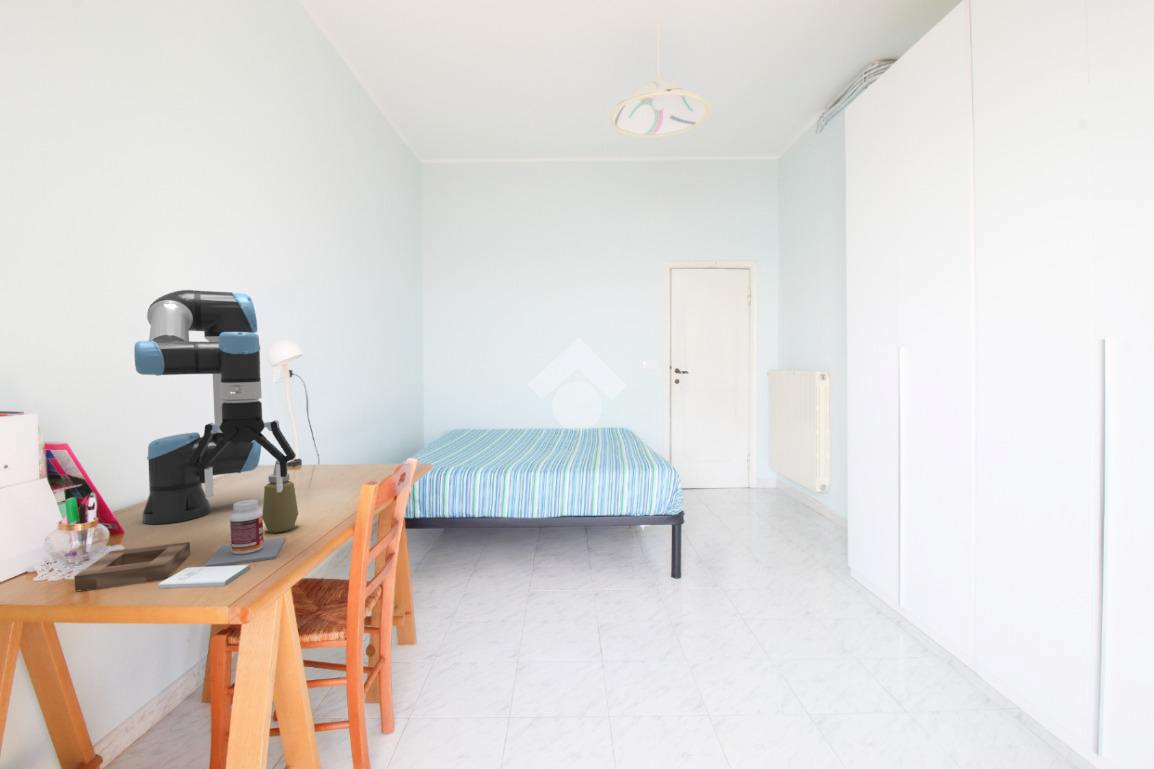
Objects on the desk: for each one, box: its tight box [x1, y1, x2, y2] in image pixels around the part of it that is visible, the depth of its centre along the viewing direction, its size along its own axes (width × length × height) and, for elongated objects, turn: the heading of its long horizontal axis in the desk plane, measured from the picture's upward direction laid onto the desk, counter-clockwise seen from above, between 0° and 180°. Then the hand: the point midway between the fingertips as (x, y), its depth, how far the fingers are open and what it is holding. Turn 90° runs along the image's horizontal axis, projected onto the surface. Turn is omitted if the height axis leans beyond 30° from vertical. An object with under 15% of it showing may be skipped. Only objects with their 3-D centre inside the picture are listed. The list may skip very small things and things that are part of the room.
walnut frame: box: [73, 541, 191, 592], centre depth 104 cm, size 14×14×3 cm
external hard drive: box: [157, 564, 251, 589], centre depth 100 cm, size 2×8×12 cm
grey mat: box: [203, 536, 287, 567], centre depth 114 cm, size 13×13×1 cm
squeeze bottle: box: [262, 460, 299, 533], centre depth 130 cm, size 8×8×18 cm
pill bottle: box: [229, 499, 264, 554], centre depth 114 cm, size 6×6×11 cm
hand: (245, 494), depth 114 cm, fingers open, 13 cm apart
